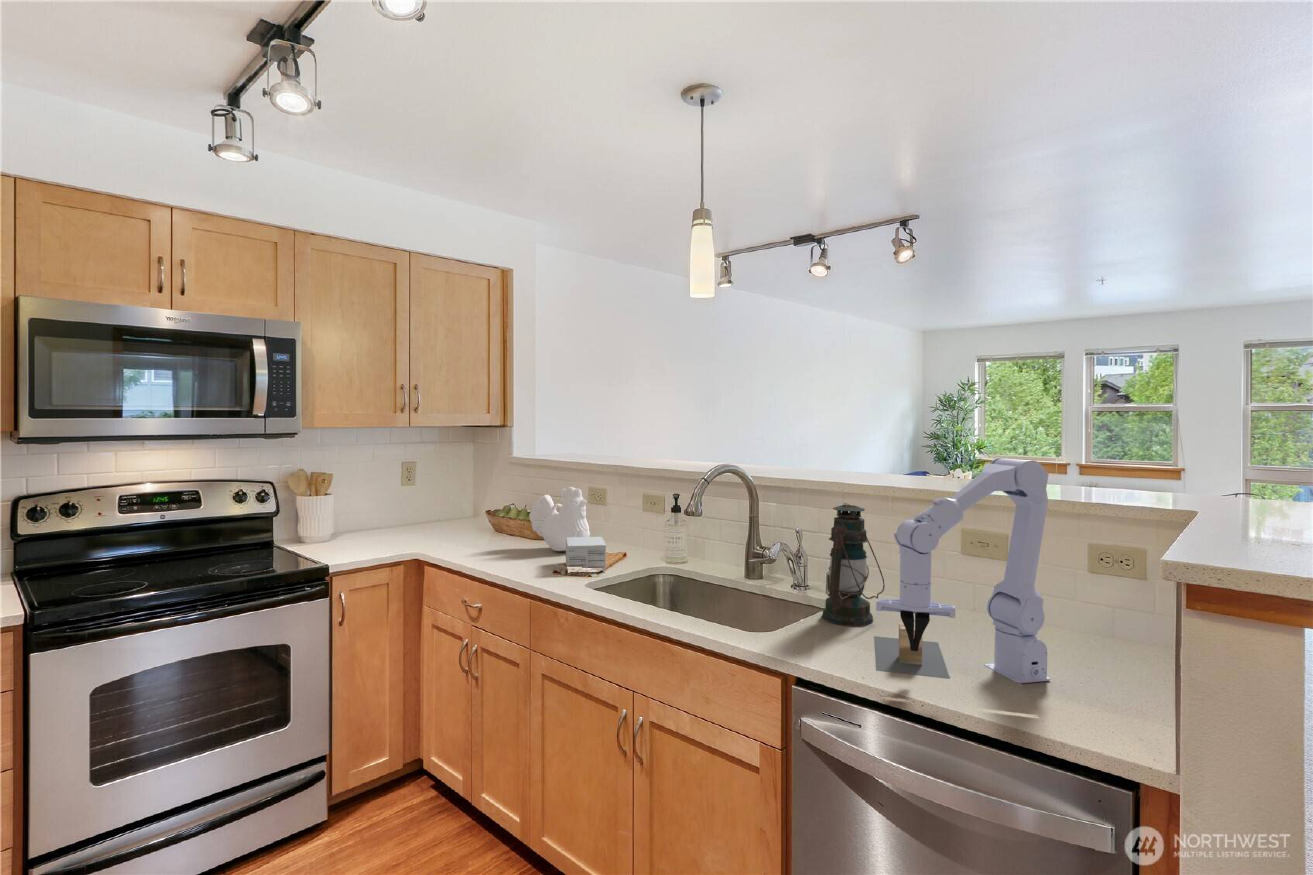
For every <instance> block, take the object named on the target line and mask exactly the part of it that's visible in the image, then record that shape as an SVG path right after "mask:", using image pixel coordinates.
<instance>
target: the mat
mask: <svg viewBox="0 0 1313 875" xmlns="http://www.w3.org/2000/svg"><path fill="white" fill-rule="evenodd" d="M873 639H874V656H875V658H874V659H875V671H876V672H884V673H885V672H888V673H894V674H895V673H897V674H904V675H913V676H922V677H930V678H940V679H947V680H948V679H951V678H950V674H949V671H948V668H947V666H946V662H945V660H944V657H943V656H944V655H943V654H942V650H941V647H940V644H939V642H937V641H930V640H929V641H927V640H926V641H925V640H922V666H916V665H907V664H899V657H898V651H899V637H898V638H895V637H885V636H878V635H877V636H876V635H875V636H873Z"/></svg>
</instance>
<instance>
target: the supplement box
mask: <svg viewBox="0 0 1313 875" xmlns="http://www.w3.org/2000/svg"><path fill="white" fill-rule="evenodd" d="M566 565H567V567H582V568H602V569H603V570H605V571H606V570H607V569H606V568H607V566H606V565H607V545H606V542H605V540H604V538H603V536H590V537H568V538H566V551H565V566H566ZM567 567H566V568H567Z"/></svg>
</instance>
